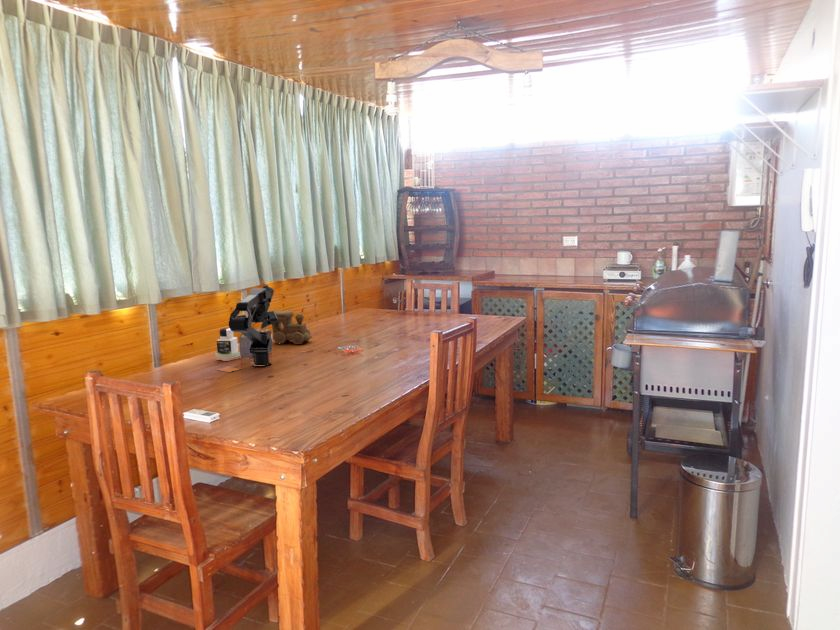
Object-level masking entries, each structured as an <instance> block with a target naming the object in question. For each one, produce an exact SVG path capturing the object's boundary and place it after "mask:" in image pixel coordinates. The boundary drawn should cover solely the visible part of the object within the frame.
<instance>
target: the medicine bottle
mask: <svg viewBox="0 0 840 630" xmlns="http://www.w3.org/2000/svg"><path fill="white" fill-rule="evenodd" d="M216 348H217V349H216V350H217V353H218V355H232V354H234V353H236V352H239V345H238V337H236V336H234V332H233V331H231V330H230V328H229V327H224V328H220V329H219V339H216Z"/></svg>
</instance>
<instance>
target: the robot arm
mask: <svg viewBox="0 0 840 630" xmlns="http://www.w3.org/2000/svg"><path fill="white" fill-rule="evenodd" d="M248 292H249V293H248V296H246V297H245V298H244V299H242V300H241V301H238V302H237V303H236V306H235V308H234V310H233V311H232V312H231V313H230V316H229V320H228V328H230V330H231V331H233V333H237V334H238V333H239V334H242V335H243V336H244V337H246V338H247V339H249V341H251V343H250V347H249V353H250V354H253V364H255V365H267V364H269V363H270V357H269V353H271V352H272V347H273V341H272V340H273V338H271V336H270V334H269V333H268V332H266V331H258V330H257V329H256V328H254V327H253V326H252V324H254V323H255V324H258V323H261V324H260V325H261V326H260V330H263V329H265V328H267V327H269V326H272V324H274V323H276V322H277V320H278V319H277V316H276V314H275V312H276V311H274V310H269V308H270V305H271V302H272V300H273V297H274V294H275V290H274V289H273V288H272V287H270V286H269V284H265V285H263V286H262V288H251V289H250V291H248ZM241 312H247V315H248V316H246V314H240V313H241Z"/></svg>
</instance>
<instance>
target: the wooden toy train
mask: <svg viewBox="0 0 840 630" xmlns="http://www.w3.org/2000/svg"><path fill="white" fill-rule="evenodd" d="M274 312H275V314H276V316H277V319H278V320H277V322H276V323H274V324H271V327H272V340H273V341H274V343H275V344H277V343H278V344H277V345H282V344H281V343H283V344H285V343H286V340H290V341H292V343H293V344H294V345H296V344H301V345H302V344H303V343H304V342H308V341H310V339H312V338H313V335H312V334H311V331H310V330H308V328H307V323H303V321H304V318H305V317H304V315H303V313H301V312H300V313H297V314H296V315H294V311H291V310H277V311H276V310H275V311H274ZM294 316H295V317H294ZM293 317H294V318H295V320H296V322H297V323H296V322H293V319H292V318H293ZM279 343H280V344H279Z"/></svg>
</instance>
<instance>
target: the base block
mask: <svg viewBox="0 0 840 630" xmlns="http://www.w3.org/2000/svg"><path fill="white" fill-rule="evenodd" d="M214 355H215V358H216V357H218V358H223V359H230V358H234V357H238V356H240V357H241V351H238V352H236V353H234V354H232V355H218V352H216V353H214Z"/></svg>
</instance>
